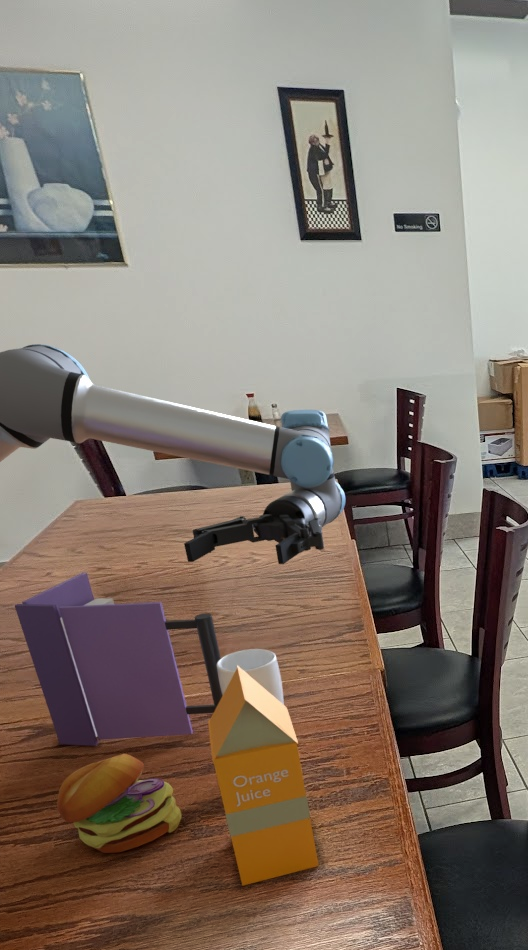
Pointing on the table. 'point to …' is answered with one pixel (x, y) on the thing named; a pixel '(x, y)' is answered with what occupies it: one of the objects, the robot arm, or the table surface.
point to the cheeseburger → (117, 805)
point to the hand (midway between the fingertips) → (233, 553)
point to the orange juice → (261, 782)
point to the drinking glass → (252, 670)
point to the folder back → (60, 657)
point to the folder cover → (136, 668)
